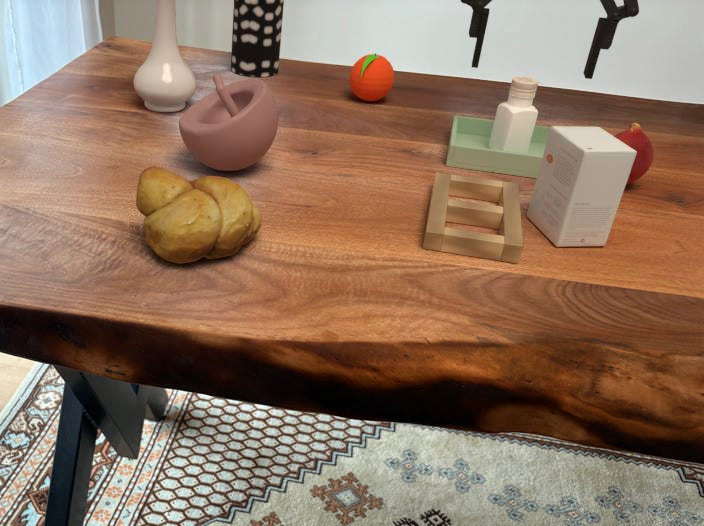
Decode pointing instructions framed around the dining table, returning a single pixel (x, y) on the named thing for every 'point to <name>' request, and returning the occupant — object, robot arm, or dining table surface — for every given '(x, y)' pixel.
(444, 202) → the spice stand
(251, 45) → the spotted tube
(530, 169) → the tray
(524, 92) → the pepper shaker
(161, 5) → the flower vase
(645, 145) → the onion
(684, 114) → the dining table surface
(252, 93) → the mortar and pestle
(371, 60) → the clementine
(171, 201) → the bread roll
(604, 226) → the small box
